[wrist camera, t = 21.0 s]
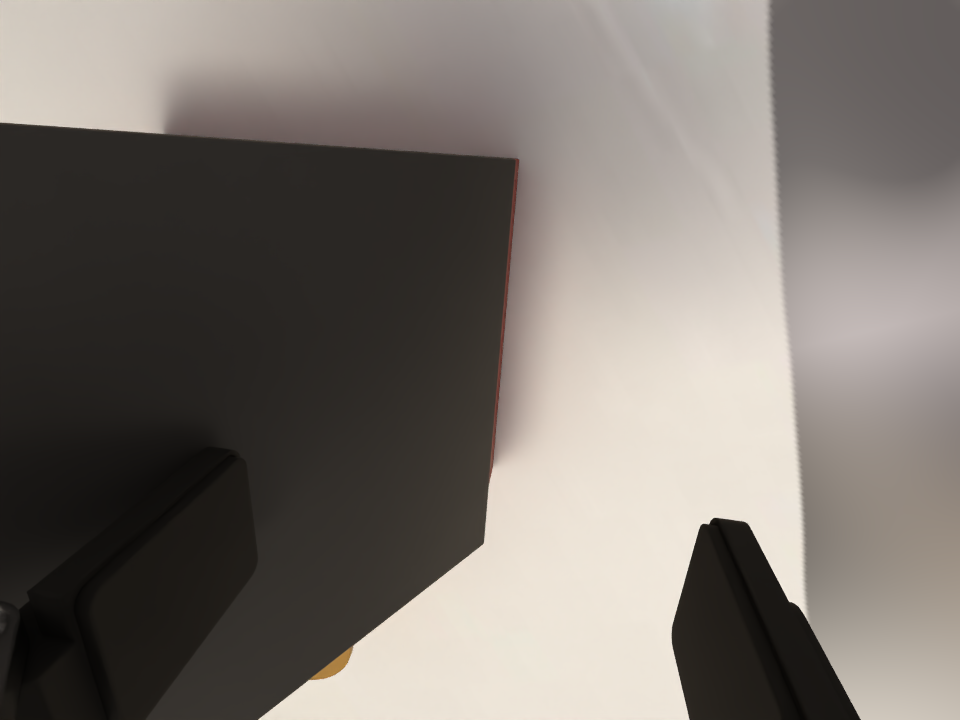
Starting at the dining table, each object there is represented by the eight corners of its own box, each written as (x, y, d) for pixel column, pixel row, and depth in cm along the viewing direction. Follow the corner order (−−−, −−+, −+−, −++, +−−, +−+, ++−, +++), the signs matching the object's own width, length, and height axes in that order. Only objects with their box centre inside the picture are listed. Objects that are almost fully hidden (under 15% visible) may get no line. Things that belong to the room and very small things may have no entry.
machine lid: (-123, 971, 9) (-121, 1016, 9) (-828, 65, 4) (-915, 57, 3) (469, 534, 21) (484, 544, 21) (496, 157, 16) (516, 158, 15)
